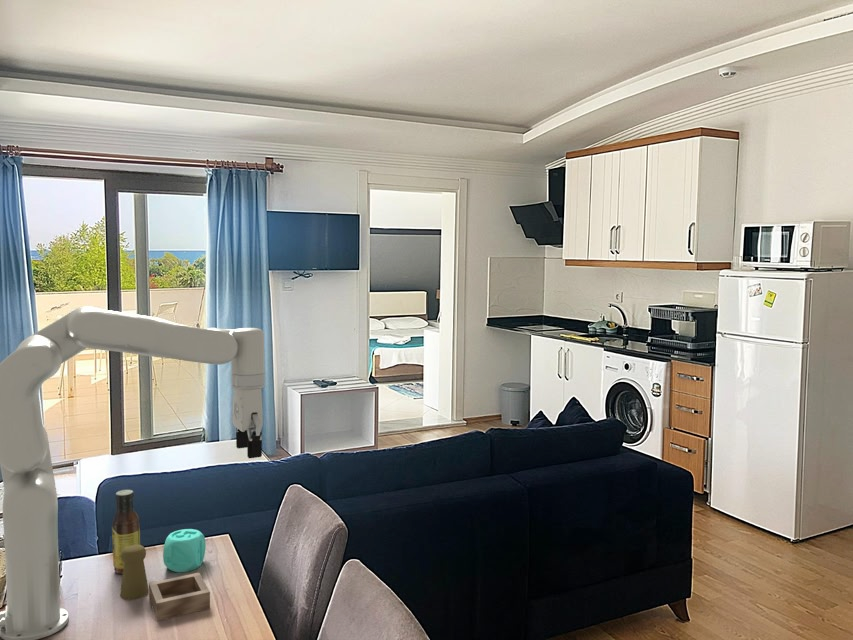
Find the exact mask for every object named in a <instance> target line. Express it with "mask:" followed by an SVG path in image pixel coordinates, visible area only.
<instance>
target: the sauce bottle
mask: <svg viewBox="0 0 853 640" xmlns="http://www.w3.org/2000/svg"><path fill="white" fill-rule="evenodd" d="M134 495H135V494H134V491H133V490H132V489H122V490H118V491H117V492H116V493H115V500H116V507H115V508H116V512H115V515H114V518H113V520H112V524H111V536H112V537H111V539H112V562H113V564H112V565H113V567H114V568H113V571H114V572H115V573H116V574H121V575H123V568H124V562H123V561H122V558H121V554H122V551H123V549H124V548H126V547H128V546H131V545H141V531H140V530H141V528H140V522H139V521H140V518H139V515H138V513H137V512H136V511H135V510H134Z"/></svg>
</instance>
